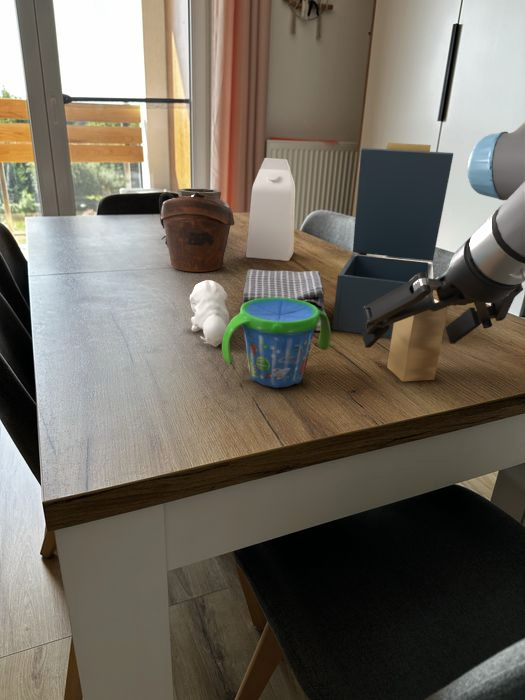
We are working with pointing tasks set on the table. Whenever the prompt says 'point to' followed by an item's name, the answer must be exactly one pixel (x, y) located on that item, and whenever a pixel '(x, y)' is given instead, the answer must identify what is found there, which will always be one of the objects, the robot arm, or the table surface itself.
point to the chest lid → (400, 200)
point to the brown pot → (196, 231)
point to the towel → (285, 287)
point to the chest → (370, 287)
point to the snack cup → (277, 338)
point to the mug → (189, 193)
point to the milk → (272, 212)
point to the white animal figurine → (209, 311)
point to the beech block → (417, 345)
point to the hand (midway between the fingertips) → (408, 337)
